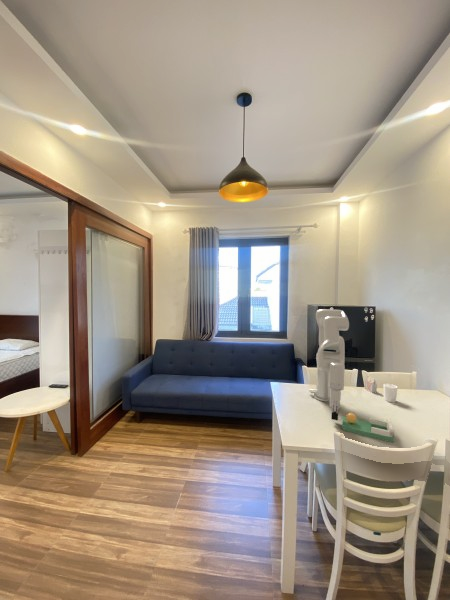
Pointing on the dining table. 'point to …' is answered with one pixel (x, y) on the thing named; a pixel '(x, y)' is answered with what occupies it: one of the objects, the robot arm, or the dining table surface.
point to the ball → (351, 418)
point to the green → (371, 428)
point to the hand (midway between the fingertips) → (334, 417)
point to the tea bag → (371, 384)
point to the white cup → (390, 392)
